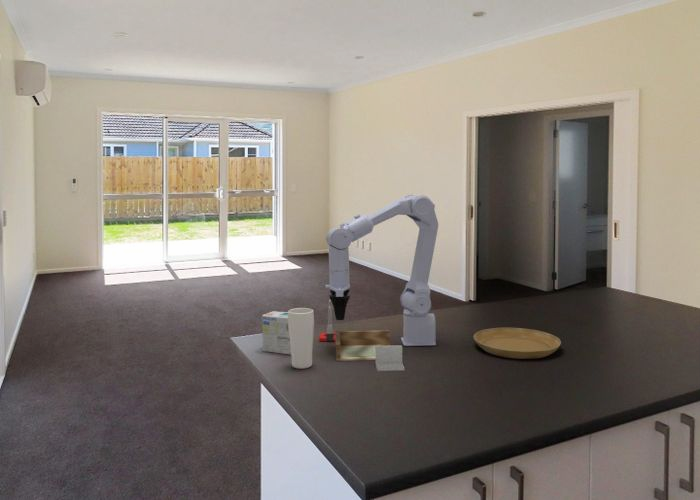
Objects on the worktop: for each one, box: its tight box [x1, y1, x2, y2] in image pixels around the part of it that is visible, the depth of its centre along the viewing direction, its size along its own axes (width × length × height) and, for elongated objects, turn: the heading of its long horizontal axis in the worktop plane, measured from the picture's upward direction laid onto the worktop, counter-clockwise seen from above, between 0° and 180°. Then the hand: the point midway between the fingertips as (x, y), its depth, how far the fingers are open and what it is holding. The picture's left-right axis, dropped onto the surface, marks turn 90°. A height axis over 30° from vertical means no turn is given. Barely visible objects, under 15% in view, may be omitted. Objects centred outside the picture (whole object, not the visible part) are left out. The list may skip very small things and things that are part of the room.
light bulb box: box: [261, 310, 291, 356], centre depth 166 cm, size 11×7×11 cm, turn 65°
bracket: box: [374, 344, 405, 372], centre depth 150 cm, size 7×6×5 cm
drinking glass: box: [287, 307, 315, 370], centre depth 151 cm, size 7×7×15 cm
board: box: [335, 345, 389, 362], centre depth 163 cm, size 16×14×1 cm
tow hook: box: [318, 299, 336, 343], centre depth 178 cm, size 8×13×9 cm
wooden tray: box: [334, 329, 391, 360], centre depth 163 cm, size 16×14×4 cm
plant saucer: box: [473, 327, 562, 360], centre depth 165 cm, size 24×24×3 cm
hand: (340, 316), depth 165 cm, fingers open, 7 cm apart
